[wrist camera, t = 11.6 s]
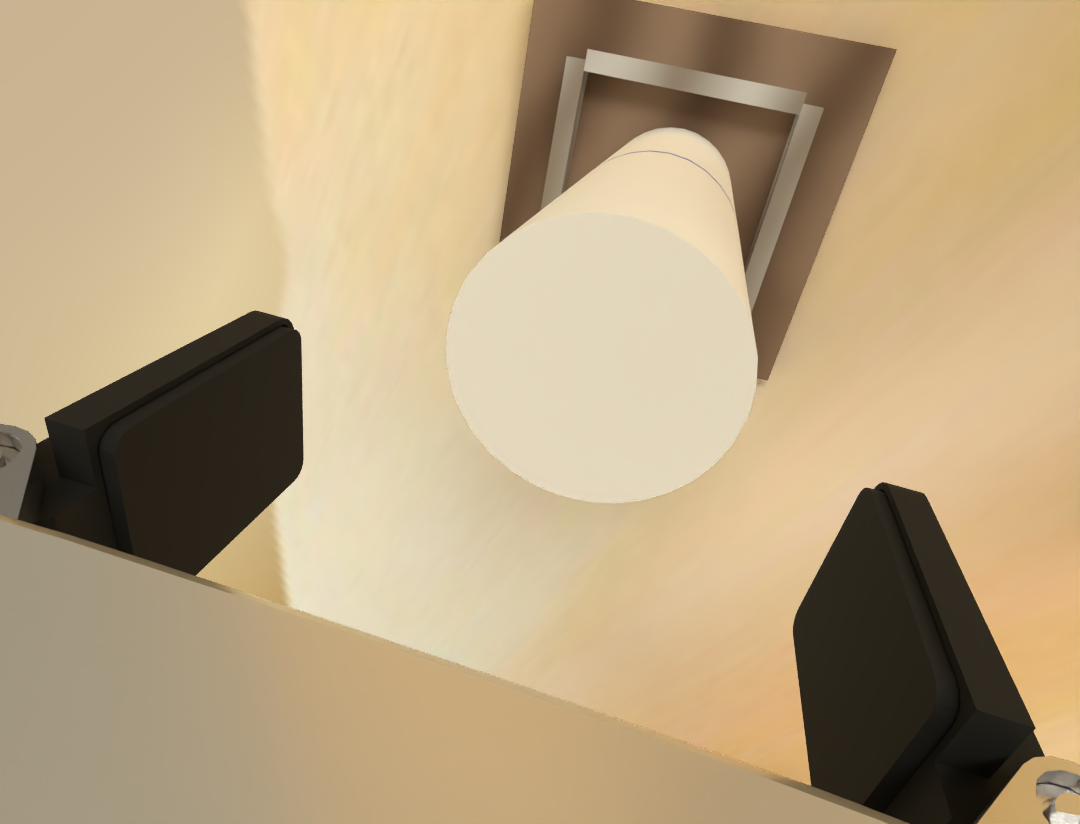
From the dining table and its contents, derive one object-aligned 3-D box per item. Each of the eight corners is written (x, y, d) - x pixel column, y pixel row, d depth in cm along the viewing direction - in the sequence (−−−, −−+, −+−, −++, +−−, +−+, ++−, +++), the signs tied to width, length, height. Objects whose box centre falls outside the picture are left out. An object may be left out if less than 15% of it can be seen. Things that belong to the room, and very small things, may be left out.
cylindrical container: (746, 235, 36) (792, 470, 15) (625, 276, 39) (514, 525, 17) (711, 105, 34) (704, 157, 12) (584, 157, 36) (395, 275, 15)
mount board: (890, 50, 32) (904, 48, 30) (765, 372, 41) (769, 390, 38) (542, -16, 34) (529, -23, 32) (495, 303, 43) (482, 316, 41)
